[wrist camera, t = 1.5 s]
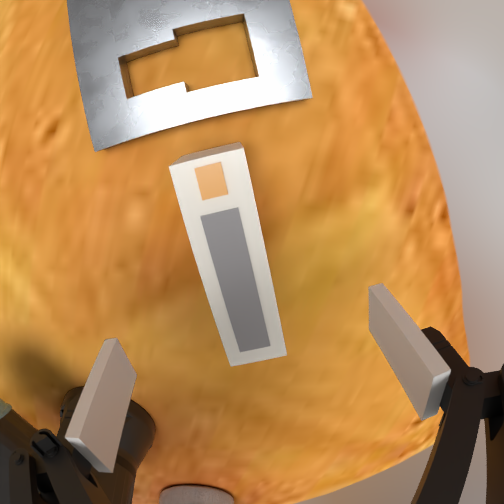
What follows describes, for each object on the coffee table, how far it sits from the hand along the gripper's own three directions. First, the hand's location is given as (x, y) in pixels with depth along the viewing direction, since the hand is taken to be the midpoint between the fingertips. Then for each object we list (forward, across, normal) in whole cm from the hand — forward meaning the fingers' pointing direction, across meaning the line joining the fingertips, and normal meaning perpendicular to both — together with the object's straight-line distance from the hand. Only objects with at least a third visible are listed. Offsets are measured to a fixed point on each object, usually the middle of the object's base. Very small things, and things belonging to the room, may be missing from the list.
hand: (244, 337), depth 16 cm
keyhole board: (+17, -1, +22) cm, 28 cm away
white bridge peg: (+17, 0, 0) cm, 17 cm away
